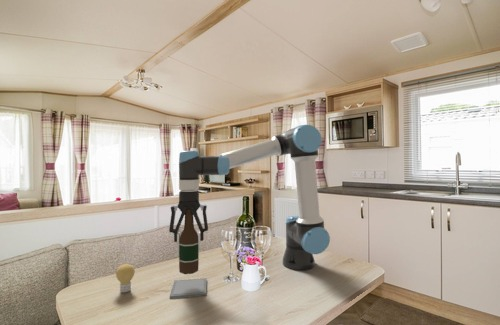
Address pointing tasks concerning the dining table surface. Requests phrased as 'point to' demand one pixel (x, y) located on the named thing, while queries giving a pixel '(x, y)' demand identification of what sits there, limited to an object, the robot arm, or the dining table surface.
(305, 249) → the robot arm
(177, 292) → the plate
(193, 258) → the beer bottle
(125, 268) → the light bulb
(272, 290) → the dining table surface
